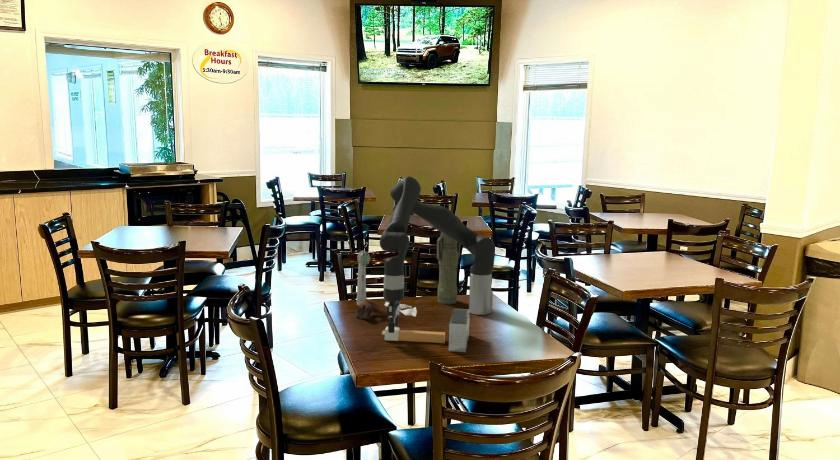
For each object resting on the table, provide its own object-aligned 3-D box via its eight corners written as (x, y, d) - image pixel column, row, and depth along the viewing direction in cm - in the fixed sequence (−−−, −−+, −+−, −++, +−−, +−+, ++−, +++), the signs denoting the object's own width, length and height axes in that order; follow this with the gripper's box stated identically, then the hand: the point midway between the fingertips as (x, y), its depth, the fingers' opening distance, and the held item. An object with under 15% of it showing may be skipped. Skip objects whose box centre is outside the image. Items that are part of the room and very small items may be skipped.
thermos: (430, 302, 287) (432, 226, 282) (450, 298, 295) (452, 224, 290) (443, 306, 280) (445, 228, 276) (463, 302, 288) (465, 226, 283)
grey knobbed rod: (365, 304, 281) (365, 248, 278) (370, 307, 275) (371, 251, 272) (354, 305, 279) (354, 249, 276) (359, 308, 273) (359, 252, 270)
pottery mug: (353, 314, 265) (362, 296, 266) (373, 324, 266) (382, 306, 267) (354, 316, 253) (363, 297, 254) (375, 326, 254) (384, 307, 255)
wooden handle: (445, 340, 233) (445, 329, 232) (444, 343, 229) (444, 333, 228) (383, 336, 236) (383, 326, 235) (381, 339, 232) (381, 329, 231)
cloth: (428, 317, 265) (428, 312, 264) (397, 320, 260) (397, 315, 259) (406, 302, 289) (406, 297, 288) (377, 304, 283) (377, 299, 283)
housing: (468, 335, 239) (469, 301, 238) (465, 352, 220) (466, 316, 218) (453, 334, 240) (454, 300, 238) (448, 351, 221) (449, 315, 219)
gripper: (387, 281, 238) (386, 323, 240) (380, 290, 224) (379, 334, 226) (407, 282, 237) (406, 324, 239) (400, 291, 223) (400, 335, 225)
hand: (393, 329), depth 233 cm, fingers open, 8 cm apart
